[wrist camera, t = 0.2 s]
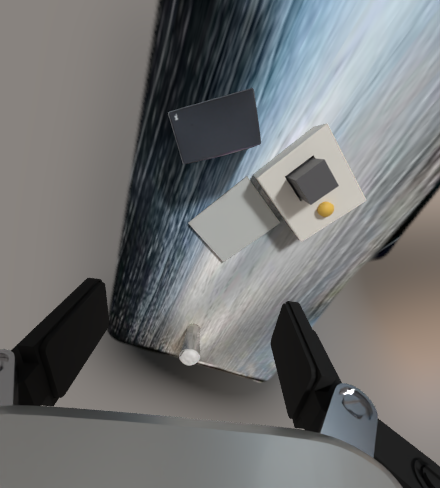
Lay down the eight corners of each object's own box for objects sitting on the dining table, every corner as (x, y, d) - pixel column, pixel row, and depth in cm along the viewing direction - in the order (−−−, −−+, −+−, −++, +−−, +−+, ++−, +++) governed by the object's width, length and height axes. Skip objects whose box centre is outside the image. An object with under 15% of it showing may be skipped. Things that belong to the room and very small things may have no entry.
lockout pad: (246, 175, 37) (247, 176, 37) (279, 221, 41) (280, 223, 40) (189, 221, 41) (188, 223, 40) (223, 260, 45) (223, 262, 44)
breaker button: (307, 157, 33) (324, 159, 28) (320, 179, 35) (339, 185, 29) (283, 175, 34) (295, 180, 29) (297, 196, 36) (310, 205, 30)
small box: (192, 162, 37) (181, 167, 27) (180, 120, 34) (164, 110, 24) (251, 147, 35) (262, 146, 26) (244, 102, 33) (253, 83, 23)
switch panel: (313, 126, 34) (330, 122, 29) (349, 194, 38) (369, 201, 33) (252, 174, 37) (257, 178, 32) (292, 231, 42) (303, 243, 36)
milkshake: (195, 316, 51) (188, 352, 42) (206, 330, 53) (202, 368, 44) (179, 323, 52) (170, 360, 43) (191, 336, 54) (185, 374, 45)
